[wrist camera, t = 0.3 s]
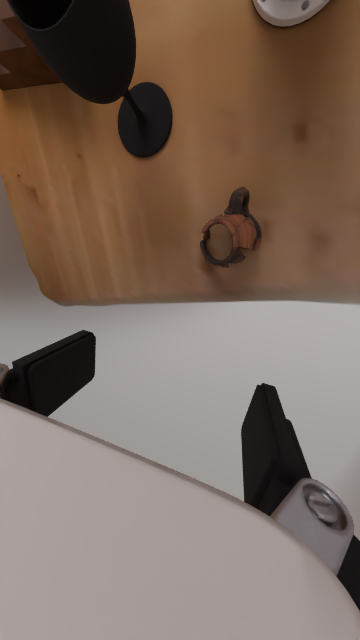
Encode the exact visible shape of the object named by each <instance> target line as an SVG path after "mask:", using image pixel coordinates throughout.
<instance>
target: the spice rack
mask: <svg viewBox="0 0 360 640" xmlns="http://www.w3.org/2000/svg"><path fill="white" fill-rule="evenodd" d="M61 82H62V81H61V80H60V79H59V78H58V77H57V75H56V74H55V73H54V72H53V71H52V70H51V68H50V67H49V66H48V65H47V63H46V62H45V61H44V59H43V58H42V57H41V55H40V54H39V53H38V51H37V50H36V48H35V47H34V45H33V44H32V42H31V41H30V39H29V38H28V36H27V35H26V33H25V31H24V30H23V28H22V27H21V25H20V23H19V22H18V20H17V18H16V17H15V15H14V13H13V11H12V10H11V8H10V6H9V4H8V2H7V0H0V89H1V90H6V89H14V88H22V87H29V86H37V85H45V84H53V83H61Z"/></svg>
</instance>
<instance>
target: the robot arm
mask: <svg viewBox="0 0 360 640" xmlns="http://www.w3.org/2000/svg"><path fill="white" fill-rule="evenodd" d="M329 1H330V0H253V3H254V6H255V8H256V10H257V11H258V13H259V15H260V16H261V17H262V18H263V19H264V20H265V21H267V22H269V23H271V24H272V25H276V26H281V27H282V26H292V25H295V24H299V23H301V22H303V21H305V20H307V19H309V18H311V17H312V16H313V15H315V14H316V13H317V12H319V11H320V10H321V9H322V8H323V7H324V6H325V5H326V4H327V3H328V2H329ZM95 345H96V337H95V336H94V334H93V333H92V332H88V331H85V330H82V331H80V332H77V333H75V334H73V335H71V336H69V337H66V338H64V339H62V340H60V341H58V342H55V343H53V344H51V345H49V346H46V347H44V348H42V349H40V350H38V351H35V352H33V353H31V354H29V355H26V356H24V357H22V358H20V359H18V360H16V361H13V362H12V364H13V369H10V370H9V368H8V366H7V365H5V364H0V640H360V541H359V540H358V539H357V538H356V537H355V536H354V535H353V534H354V524H353V520H352V517H351V516H350V513H349V511H348V509H347V508H346V506H345V505H344V504H343V502H342V501H341V500H340V499H339V497H338V496H337V495H336V494H335V493H334V492H333V491H332V490H331V489H329V488H328V487H327V486H325V485H324V484H322V483H321V482H318V481H317V480H314V479H312V478H311V475H310V473H309V470H308V467H307V464H306V462H305V459H304V456H303V453H302V450H301V448H300V445H299V442H298V440H297V437H296V434H295V431H294V428H293V425H292V423H291V422H290V420H288V419H286V418H285V415H284V412H283V409H282V406H281V403H280V400H279V397H278V394H277V391H276V388H275V387H274V386H271V385H268V384H264V383H262V384H261V385H257V387H256V389H255V392H254V395H253V398H252V400H251V403H250V406H249V408H248V411H247V414H246V416H245V419H244V422H243V425H242V430H241V436H242V437H241V438H242V460H243V482H244V502H243V501H241V500H239V499H237V498H235V497H233V496H231V495H229V494H227V493H225V492H223V491H221V490H218V489H216V488H214V487H212V486H209V485H207V484H205V483H203V482H200V481H198V480H196V479H194V478H191V477H189V476H187V475H184V474H182V473H180V472H177V471H175V470H173V469H170V468H168V467H166V466H163V465H161V464H158V463H156V462H154V461H151V460H149V459H147V458H144V457H142V456H140V455H137V454H135V453H133V452H130V451H128V450H125V449H123V448H121V447H118V446H116V445H113V444H111V443H109V442H106V441H104V440H101V439H99V438H97V437H94V436H92V435H89V434H87V433H85V432H82V431H80V430H77V429H75V428H73V427H70V426H68V425H65V424H63V423H60V422H58V421H56V420H53V419H51V418H48V416H49V415H50V414H51V413H53V412H54V411H55V410H56V409H57V408H59V407H60V406H61V405H62V404H63V403H65V402H66V401H67V400H68V399H69V398H71V397H72V396H73V395H74V394H75V393H77V392H78V391H79V390H80V389H81V388H83V387H84V386H85V385H86V384H87V383H89V382H90V381H91V380H92V379H93V377H94V375H95Z"/></svg>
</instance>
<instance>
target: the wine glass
mask: <svg viewBox="0 0 360 640" xmlns="http://www.w3.org/2000/svg"><path fill="white" fill-rule="evenodd" d="M7 2H8V4H9V6H10V8H11V10H12V11H13V13H14V15H15V17H16V18H17V20H18V22H19V23H20V25H21V27H22V28H23V30H24V31H25V33H26V35H27V36H28V38H29V39H30V41H31V42H32V44H33V45H34V47H35V48H36V50H37V51H38V53H39V54H40V55H41V57H42V58H43V59H44V61H45V62H46V63H47V65H48V66H49V67H50V68H51V70H52V71H53V72H54V73H55V74H56V75H57V77H58V78H59V79H60V80H61V81H62V82H63V83H64V84H65V85H67V86H68V87H69V88H70V89H71V90H72V91H73V92H75V93H76V94H78V95H79V96H81V97H83V98H84V99H86V100H88V101H91V102H94V103H99V104H107V103H112V102H114V101H116V100H118V99H119V98H120V97H122V96H123V97H124V99H123V101H122V104H121V107H120V110H119V115H118V130H119V135H120V138H121V140H122V143H123V144H124V146H125V147H126V149H127V150H128V151H129V152H130V153H132V154H133V155H135V156H138V157H149V156H152V155H154V154H155V153H157V152H158V151H159V150H160V149H161V148H162V147H163V145H164V144H165V142H166V141H167V139H168V136H169V134H170V130H171V126H172V109H171V104H170V102H169V99H168V97H167V95H166V93H165V92H164V91H163V89H162V88H160V87H159V86H158V85H156V84H154V83H151V82H144V83H140V84H137V85H136V86H134V87H133V88H132V89H131V90H130V91H129V89H128V87H129V85H130V83H131V80H132V76H133V73H134V68H135V59H136V38H135V29H134V22H133V17H132V12H131V8H130V4H129V0H7Z"/></svg>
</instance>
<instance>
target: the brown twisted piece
mask: <svg viewBox="0 0 360 640" xmlns="http://www.w3.org/2000/svg"><path fill="white" fill-rule="evenodd" d="M248 204H249V191H248V190H247V189H246V188H245V187H240V188H238V189H236V190H235V191H234V192H233V193H232V195H231V198H230V200H229V205H228V207H227V208H226V209H225V211H224V213H225V214H226V215H225V216H223V217H222V214H220V215H218V216H216V217H215V218H214V219H212V220H210V221H209V222H208V223H207V224H206V225H205V226H204V228H203V230H202V233H204V236H203V240H202V241H201V242H200V247H201V250H202V253H203V255H204V257H205V258H206V259H207V260H208V261H209V262H210V263H212V264H213V265H217V266H222V267H226V268H229V263H231V264H235V263H237V262H242V261H243V260H244V259H245V256H243V255H242V253H241V250H240V248H248V249H250V248H251V247H252V246H253V245H254V242H256V243H255V246H254V248H253V250H254V251H255V250H257V248H258V247H259V245H260V242H261V235H262V233H261V228H260V225H259V223H258V222H257V221H256V220H255V219H254V217H253V216H252V215H251V214H249V210H248ZM245 217H247V218H246V219H245ZM219 223H220V224H223V225H225V226H226V227H227V228H228V229H229V230H230V232H231V234H232V238H233V249H232V251H231V253H230V255H229V256H228V257H227V258H226V259H224V260H216V259H214V258H213V257H212V256H211V255H210V253H209V251H208V249H207V240H208V239H209V238H210V230H209V229H210V228H211V227H212V226H213V225H215V224H219Z"/></svg>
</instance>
